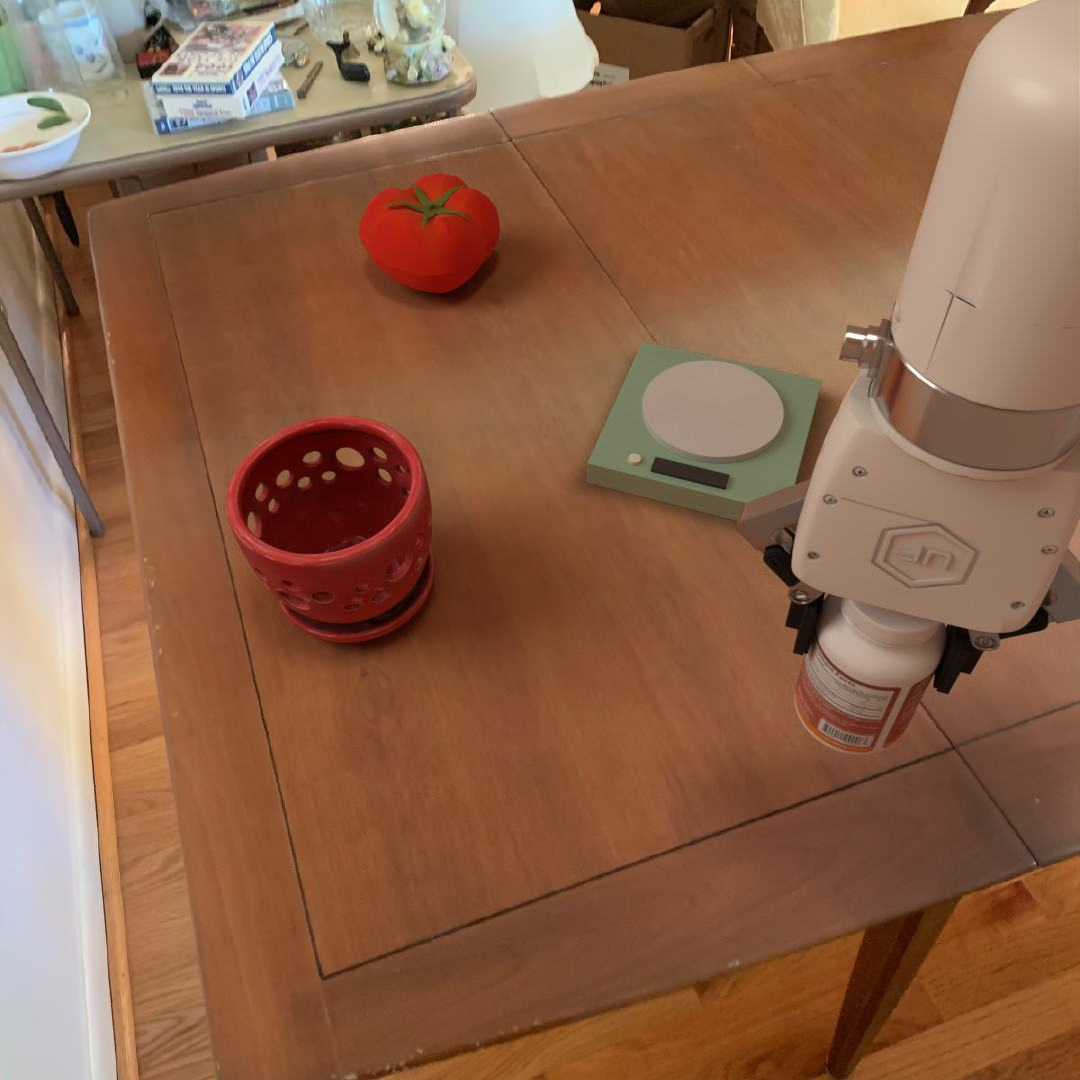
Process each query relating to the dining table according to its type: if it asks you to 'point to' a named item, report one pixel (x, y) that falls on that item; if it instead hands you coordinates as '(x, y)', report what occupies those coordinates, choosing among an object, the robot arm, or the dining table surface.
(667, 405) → the scale
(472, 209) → the tomato
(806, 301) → the dining table surface
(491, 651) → the dining table surface
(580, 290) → the dining table surface
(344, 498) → the flower pot
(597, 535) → the dining table surface
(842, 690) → the pill bottle
